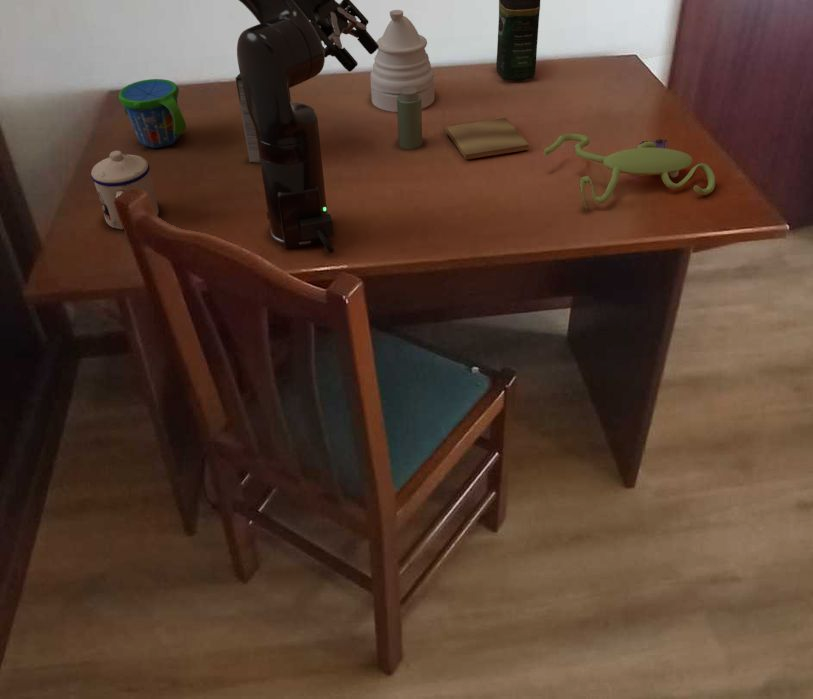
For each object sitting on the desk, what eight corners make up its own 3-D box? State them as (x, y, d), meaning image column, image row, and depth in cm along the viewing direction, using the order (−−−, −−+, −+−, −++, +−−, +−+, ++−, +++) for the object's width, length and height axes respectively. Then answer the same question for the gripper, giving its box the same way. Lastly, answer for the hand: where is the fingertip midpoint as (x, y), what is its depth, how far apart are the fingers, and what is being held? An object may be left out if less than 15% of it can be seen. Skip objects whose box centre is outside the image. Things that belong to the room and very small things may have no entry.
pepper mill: (425, 147, 160) (424, 93, 154) (402, 150, 159) (400, 96, 153) (418, 137, 163) (417, 83, 157) (396, 140, 163) (393, 87, 156)
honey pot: (423, 115, 171) (421, 22, 159) (362, 108, 174) (356, 17, 163) (442, 89, 180) (441, 0, 169) (383, 83, 183) (379, -5, 172)
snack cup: (114, 137, 167) (101, 86, 161) (161, 119, 173) (150, 70, 166) (157, 163, 159) (145, 110, 152) (206, 143, 164) (196, 92, 158)
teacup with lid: (107, 206, 147) (88, 143, 140) (161, 200, 148) (146, 137, 141) (100, 244, 138) (80, 178, 130) (158, 237, 139) (142, 171, 132)
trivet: (528, 151, 158) (529, 144, 157) (465, 161, 155) (465, 154, 154) (505, 124, 167) (505, 117, 166) (445, 133, 164) (445, 126, 163)
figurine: (536, 161, 155) (538, 132, 151) (680, 146, 157) (685, 117, 154) (566, 214, 140) (569, 183, 137) (723, 196, 143) (730, 166, 139)
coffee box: (264, 140, 165) (252, 56, 154) (297, 142, 163) (286, 58, 153) (248, 162, 158) (234, 77, 147) (281, 165, 157) (270, 79, 146)
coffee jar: (539, 81, 181) (545, -10, 170) (502, 84, 181) (505, -8, 169) (528, 64, 189) (534, -25, 177) (492, 67, 188) (496, -23, 176)
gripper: (310, -12, 159) (370, 58, 162) (269, 13, 149) (334, 87, 152) (333, -40, 154) (394, 33, 157) (292, -16, 144) (359, 61, 147)
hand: (364, 59), depth 155 cm, fingers open, 8 cm apart
